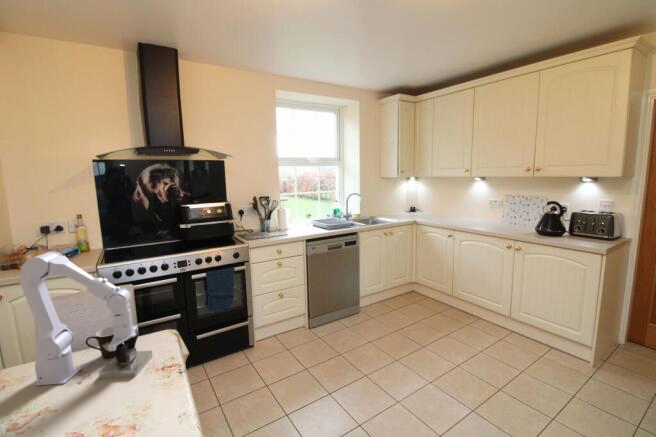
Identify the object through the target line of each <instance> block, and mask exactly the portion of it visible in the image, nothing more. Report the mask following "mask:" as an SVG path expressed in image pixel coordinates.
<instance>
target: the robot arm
mask: <svg viewBox="0 0 656 437" xmlns="http://www.w3.org/2000/svg"><path fill="white" fill-rule="evenodd" d="M20 270H21V276H20V281H19V284H20V287H21V289H22V291H23V294H24V296H25V299H26V301H27V304H28V306H29V309H30V311H31V314H32V316H33V318H34V321H35V324H36V325H37V328H38V330H39V331H38V332H39V334H38V336H37V339H36V345H37V350H36V353H37V355H38V358H36V361H35V364H34V370H35V376H36V381H37V382H36V383H35V386H46V385H62V384H63V385H64V384H65V383H68V381H70V379H71V378H72V377H74V376H75V375H76V374H78V373H79V372H80V371H81V370H82V369H81V367H75V365H74V358H73V353H72V345H71V344H72V342H73V341H74V338H75V335H74V332H72V331H71V330H70V329H69V328H68V326H67V324H64V323H61V321H60V318H59V316H58V314H57V310H56V308H55V305H54V303H53V301H52V299H51V296H50V293H49V291H48V288H47V285H46V284H45V283H46V280H47V279H48V278H49V277H51V276H65V277H67V278H68V279H70V280H73V281H74V282H77V283H79V284H81V285H83V286H85V287H86V290H87V291H86V292H88V293H89V294H91V295H92V296H95V297H96V298H98V299H100V300H101V301H104V302H105V305H106V306H107V308H108V309H110V315H111V321H112V322H111V324H112V326H113V332H114V337H113V339H112V341H111V343H110V344H109V345H108V350H109V351H111V352H112V353H113V354H114V355H115V357H116V358H117V360H118V362H119V363H125V362H126V351H127V348H136V344H137V341H138V338H139V336H140V334H139V332H136V331H138V330H139V328H138V327H139V325H138V324H133V320H132V312H131V305H130V301H131V299H132V293H131V291H130V290H129V289H128V288H127V287H121V286H116V285H114V284H113V283H111V282H109V279H108V278H105V277H104V278H103V277H93V276H92V275H91V274H89V273H88V272H86V271H85V270H83V269H82V268H80V267H78V266H77V265H76V264H74V263H73V262H72V261H70V260H69V258H68V257H67V256H65V255H62V254H61V253H60V252H58V251H55V250H50V251H47V252H44V253H42V254H40V255H36V256H34V257H30V258H28V259H26V261H25V262H24V263H23V264H22V265H20ZM122 342H123V344H122Z"/></svg>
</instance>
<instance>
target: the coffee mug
mask: <svg viewBox="0 0 656 437" xmlns="http://www.w3.org/2000/svg"><path fill="white" fill-rule="evenodd" d="M113 337H114V332H113V325H111V326H107V327H104V328H101V329H100V330H98V331H97V332H96V333H95V336H93V335H92V336H89V337H87V338H86V340H85V345H86V346H87V347H89V348H91V349H94V350H98V351H100V353H101V354H100V355H101V357H102V359H103V360H106V361H107V360H112V359H113V358H114V357H115V355H114V354H113V353H112V352H111V351H109V350H108V345H109V344H110V343H111V341H112V339H113ZM90 339H94V340H96V341H97V343H98V347H96V346H93V345H91V344H89V342H88V341H89V340H90ZM122 344H123V345H124V343H123V342H122Z"/></svg>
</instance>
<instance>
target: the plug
mask: <svg viewBox="0 0 656 437" xmlns="http://www.w3.org/2000/svg"><path fill="white" fill-rule="evenodd" d="M137 351H138V350H137V347H135V348H127V351H126V362H125V363H121V364H130V363H131V362H132V361H133V360H134V358H135V357H136V356H137ZM116 359H117V358H116ZM117 363H119V362H118V360H117Z"/></svg>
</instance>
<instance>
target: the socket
mask: <svg viewBox="0 0 656 437" xmlns="http://www.w3.org/2000/svg"><path fill="white" fill-rule="evenodd" d="M136 351H137V356H136V357H135V358H134V360H133V361H132V362H131V363H130V364H121V363H117V359H116V357H114V358H113V359H110V360H109V362H108V363H107V364H105V365H104V366H103V367H102V368H101V369H100V370H99V371H98V378H99V380H101V379H117V378H134V377H135V378H136V377H137V375H138V374H140V372H141V371H142V370H143V369H144V368H145V366H147V365H148V362H150V360H151V359H152V358H153V356H154V355H153V350H136Z"/></svg>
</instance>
